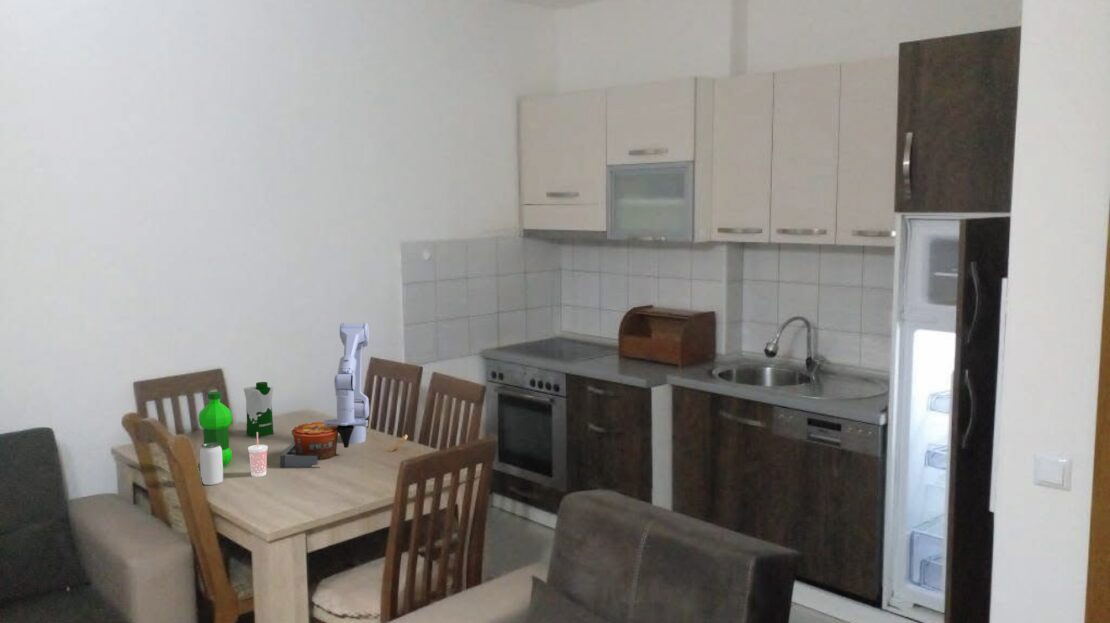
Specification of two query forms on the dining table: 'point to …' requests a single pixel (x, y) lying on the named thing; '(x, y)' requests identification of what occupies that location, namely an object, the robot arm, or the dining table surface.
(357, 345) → the robot arm
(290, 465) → the tray
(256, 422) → the milk carton
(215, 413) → the plastic bottle
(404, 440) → the latch flap
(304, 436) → the food container
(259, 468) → the beverage cup
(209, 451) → the can
